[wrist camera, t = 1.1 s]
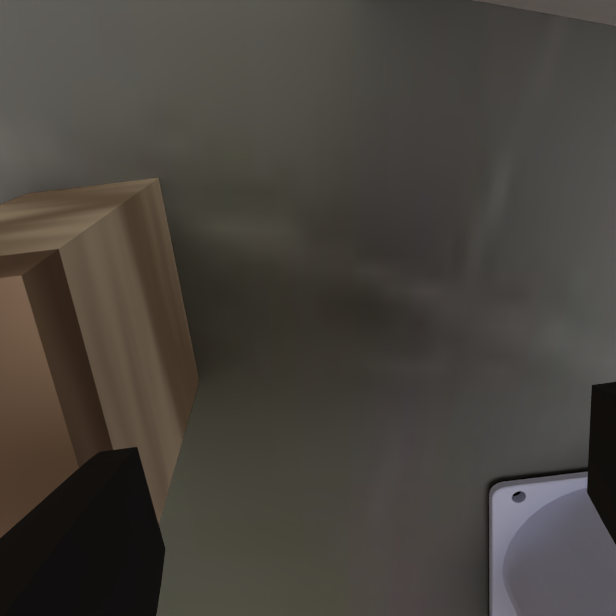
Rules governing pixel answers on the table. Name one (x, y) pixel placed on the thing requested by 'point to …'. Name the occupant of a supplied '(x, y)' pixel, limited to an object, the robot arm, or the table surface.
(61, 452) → the maple block
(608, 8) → the tall grey block
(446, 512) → the table surface
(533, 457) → the table surface
